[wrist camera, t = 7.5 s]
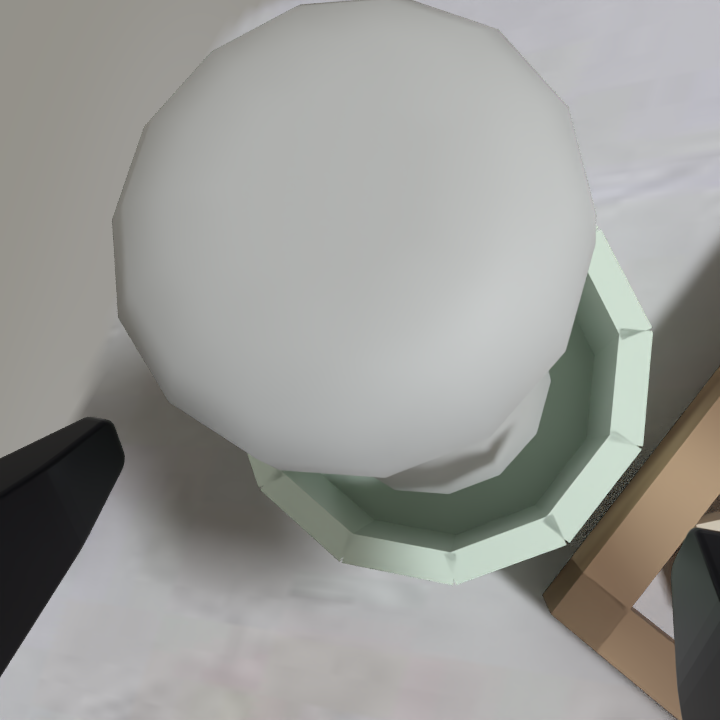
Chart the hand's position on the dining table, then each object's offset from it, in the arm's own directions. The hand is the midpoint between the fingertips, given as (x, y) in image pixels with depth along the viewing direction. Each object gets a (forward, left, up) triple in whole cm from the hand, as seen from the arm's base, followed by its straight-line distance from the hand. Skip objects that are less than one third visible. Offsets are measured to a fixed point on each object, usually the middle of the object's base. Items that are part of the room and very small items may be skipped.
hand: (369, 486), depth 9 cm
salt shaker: (+2, +1, -8) cm, 8 cm away
